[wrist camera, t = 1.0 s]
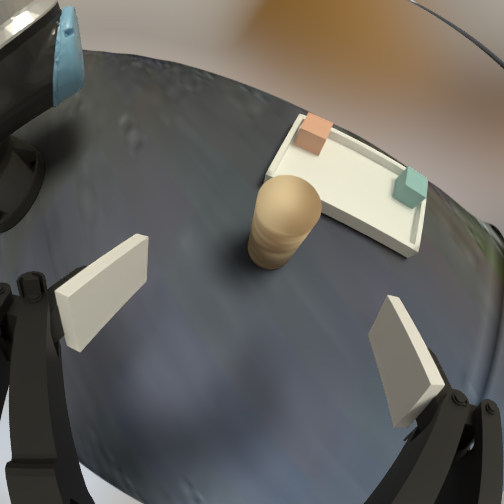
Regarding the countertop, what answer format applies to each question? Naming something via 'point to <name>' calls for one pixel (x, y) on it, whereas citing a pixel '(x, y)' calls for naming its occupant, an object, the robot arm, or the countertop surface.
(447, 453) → the robot arm
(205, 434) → the countertop surface
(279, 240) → the turned wooden pepper mill
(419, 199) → the teal block
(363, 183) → the parts tray
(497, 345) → the countertop surface
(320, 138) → the terracotta block
